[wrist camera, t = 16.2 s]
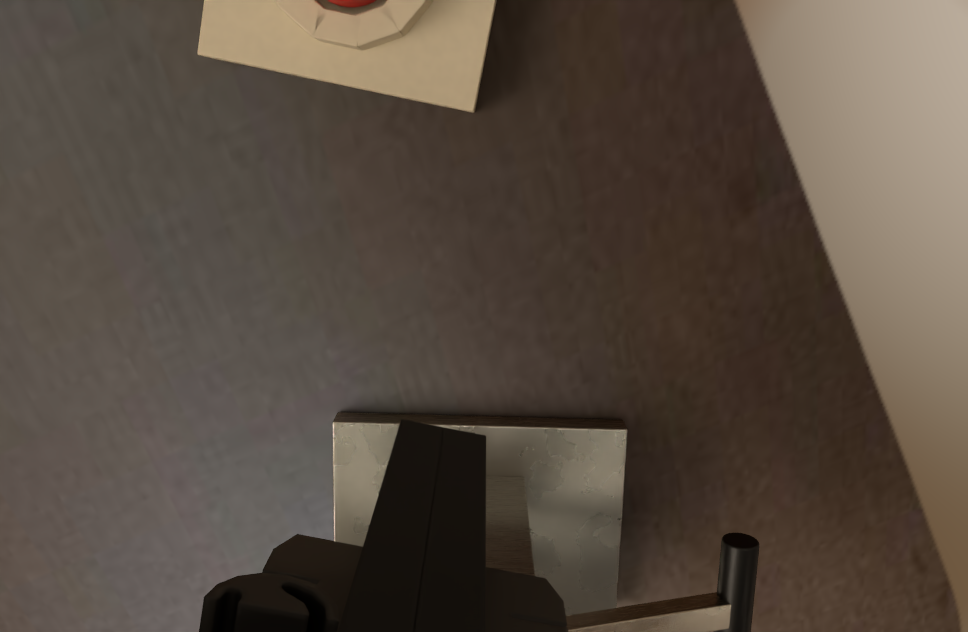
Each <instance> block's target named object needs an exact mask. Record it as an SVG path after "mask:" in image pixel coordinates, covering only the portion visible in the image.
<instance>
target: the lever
mask: <svg viewBox="0 0 968 632" xmlns="http://www.w3.org/2000/svg"><path fill="white" fill-rule="evenodd" d="M758 554H759V542H758V540H757V539H755V538H754V537H752V536H750V535H747V534H742V533H728V534H725V535H724V536H723V537H722V542H721V554H720V565H719V576H718V587H717V592H715V593H709V594H702V595H696V596H689V597H683V598H676V599H670V600H663V601H657V602H651V603H644V604H638V605H631V606H625V607H618V608H612V609H605V610H599V611H593V612H586V613H580V614H573V615H567V616H566V620H567V627H566V628H568V632H712V631H713V632H751V623H752V614H753V604H754V594H755V584H756V574H757V564H758Z"/></svg>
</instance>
